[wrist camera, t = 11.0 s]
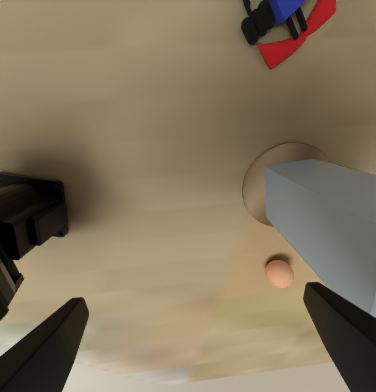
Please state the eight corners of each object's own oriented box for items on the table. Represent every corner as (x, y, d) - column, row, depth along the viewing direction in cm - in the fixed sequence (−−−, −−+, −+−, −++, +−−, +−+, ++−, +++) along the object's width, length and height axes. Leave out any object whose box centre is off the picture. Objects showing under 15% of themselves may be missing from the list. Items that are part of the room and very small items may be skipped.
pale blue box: (265, 217, 20) (366, 330, 9) (264, 166, 18) (390, 231, 7) (308, 210, 20) (466, 318, 9) (312, 158, 18) (519, 212, 7)
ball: (258, 272, 24) (268, 292, 21) (265, 253, 23) (276, 271, 20) (280, 275, 24) (293, 295, 21) (288, 256, 23) (303, 274, 20)
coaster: (233, 219, 21) (234, 221, 20) (255, 135, 18) (258, 136, 17) (309, 229, 22) (312, 231, 21) (343, 150, 18) (348, 151, 18)
